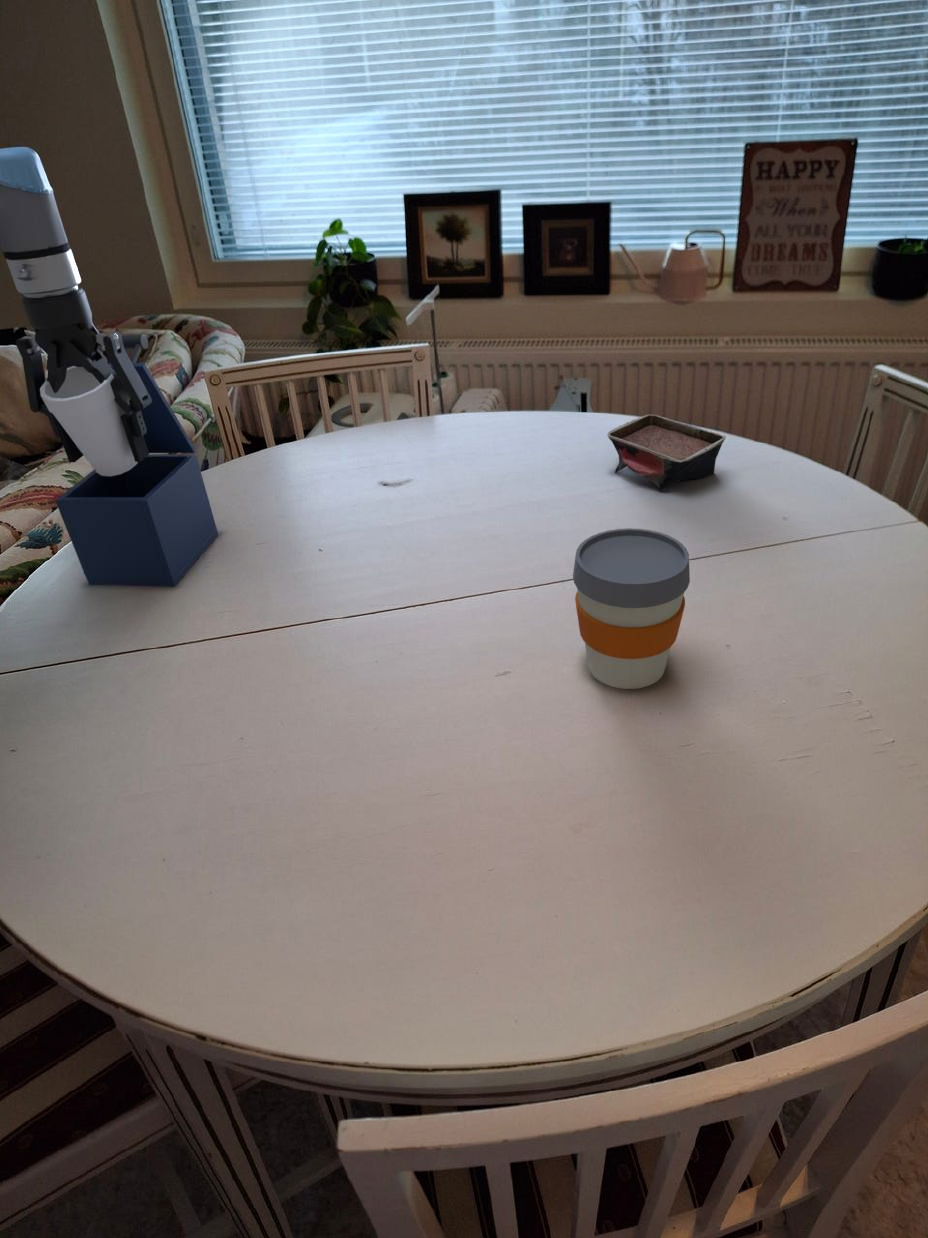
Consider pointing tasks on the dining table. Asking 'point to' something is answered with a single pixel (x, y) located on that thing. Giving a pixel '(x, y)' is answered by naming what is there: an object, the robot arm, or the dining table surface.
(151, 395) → the lid
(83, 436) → the foam cup
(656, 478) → the bonsai pot
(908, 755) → the dining table surface
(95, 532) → the box
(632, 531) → the reusable coffee cup
